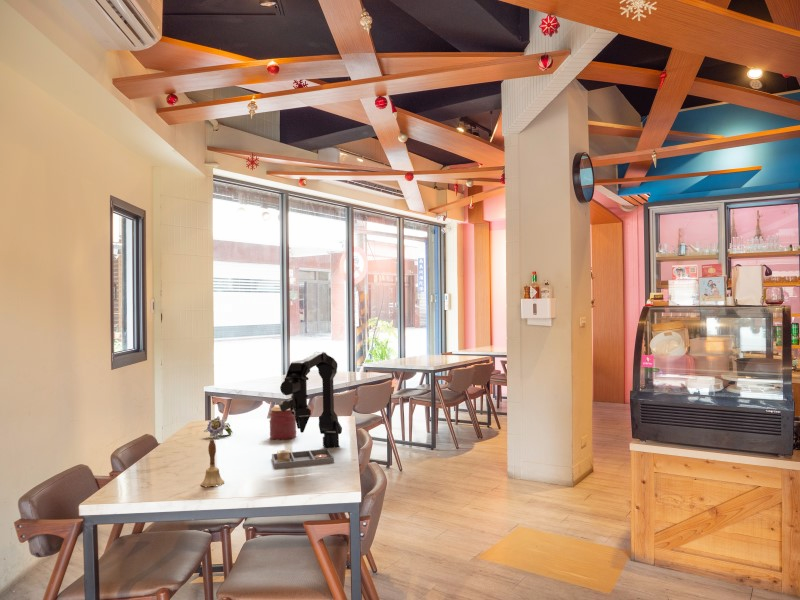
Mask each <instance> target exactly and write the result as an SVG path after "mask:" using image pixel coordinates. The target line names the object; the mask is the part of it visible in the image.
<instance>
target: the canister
mask: <svg viewBox="0 0 800 600" xmlns="http://www.w3.org/2000/svg"><path fill="white" fill-rule="evenodd" d="M283 401H284V400H283ZM283 401H280V402H279V403H281V402H283ZM270 410H271V412H269V414H268V415H269V416H270V417H269V436H270V437H269V438H270V439H271V440H272V439H273V440H276V439H283V440H290V439H293V438H296V437H297V424H296V420H295V416H294V415H293V414H292V413H291V411H290V409H287V410H286V411H284V412H282V411H281V409H280V407H279V404H278V405H275V406H273V407H272V408H270ZM292 411H293V410H292Z"/></svg>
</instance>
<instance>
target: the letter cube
mask: <svg viewBox="0 0 800 600" xmlns="http://www.w3.org/2000/svg"><path fill="white" fill-rule="evenodd" d="M289 452H290V450H289V449H282V450H277V451H276V454H277V458H278V463H281V462H290V454H289Z"/></svg>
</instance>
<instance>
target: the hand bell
mask: <svg viewBox="0 0 800 600" xmlns="http://www.w3.org/2000/svg"><path fill="white" fill-rule="evenodd" d="M207 448H208V449H207V450H208V455H209V467H208V468H207V469H205V476H204V479H203V480H202V481H201V483H200V486H201V485H202V486H216V485H220V484H223V483H224V482H225V480H224V479H222V477H221V473H220V468H218V467H216V462H215V461H216V460H215V456H216V452H217V446H216V443H215V439H210V441H209V444H208V447H207ZM224 484H225V483H224ZM224 484H223V485H224ZM202 486H201V487H202ZM220 486H221V485H220ZM216 487H217V486H216Z"/></svg>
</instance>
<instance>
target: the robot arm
mask: <svg viewBox="0 0 800 600" xmlns="http://www.w3.org/2000/svg"><path fill="white" fill-rule="evenodd" d="M314 367H316V368H317V369H318V374H319V376H320V378H321V379H322V413H321V414H320V415H319V416H318V427H319V433H320V435H323V436H322V446H323V448H324V449H331V448H332V449H333V448H340V441H339V440H340V439H339V435H341V434H342V431H343V427H342V425H341V423H340V422H339V418H338V415H337V413H336V411H335V400H334V399H335V398H334V397H335V395H334V378H335V377H336V374H337V373H338V362H337V361H336V359H335V358H334V357H332V356H330V355H328V353H327V352H324V351H316V352H314V353H313V354H310V355H309V356H307V357H306V358H304V359H302V360H294V361H292V362H290V365H289V367H288V369H287V371H286V375H285V377H284V381H282V383H281V384H280V387H279V388H280V392H281V393H282V395H285V396H290V395H291V396H290V397H291V398H289V399H286V400H283V402H282V401H280V402H281V403H280V402H279V403H278V405H279V407H280V409H281V411H282V412H284V411H286V410H287V409H290V411H291V413H292V414H293V415H294V416H295V420H296V429H298V430H299V431H300V433H304V432H305V429H306V426H307V424H308V421H309V419H310V417H311V416H312V410H311V409H310V408H309V405H308V396H309V395H308V393H307V392H308V391H307V389H308V388H307V386H308V385H307V382H308V381H309V377H308V376H307V375H308V374H309V373H310V372H311V369H312V368H314ZM292 410H293V411H292Z"/></svg>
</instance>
